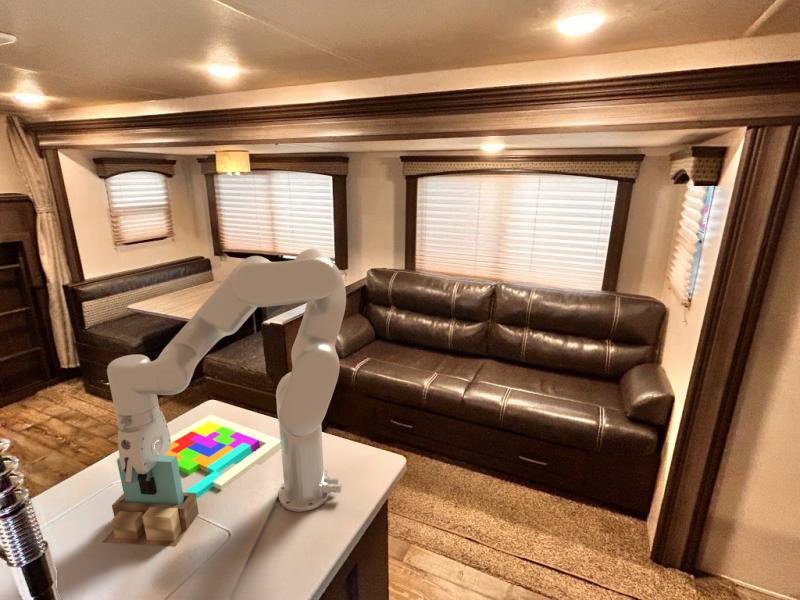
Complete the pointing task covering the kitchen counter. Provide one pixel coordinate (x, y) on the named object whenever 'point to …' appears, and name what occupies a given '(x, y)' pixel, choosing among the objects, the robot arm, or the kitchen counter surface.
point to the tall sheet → (157, 484)
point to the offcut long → (162, 523)
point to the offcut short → (128, 525)
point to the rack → (185, 511)
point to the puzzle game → (220, 451)
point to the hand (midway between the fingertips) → (152, 488)
